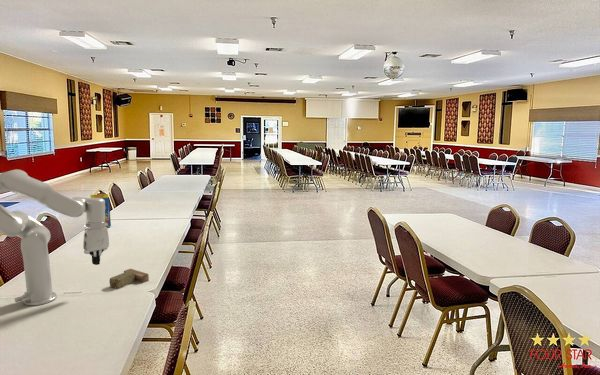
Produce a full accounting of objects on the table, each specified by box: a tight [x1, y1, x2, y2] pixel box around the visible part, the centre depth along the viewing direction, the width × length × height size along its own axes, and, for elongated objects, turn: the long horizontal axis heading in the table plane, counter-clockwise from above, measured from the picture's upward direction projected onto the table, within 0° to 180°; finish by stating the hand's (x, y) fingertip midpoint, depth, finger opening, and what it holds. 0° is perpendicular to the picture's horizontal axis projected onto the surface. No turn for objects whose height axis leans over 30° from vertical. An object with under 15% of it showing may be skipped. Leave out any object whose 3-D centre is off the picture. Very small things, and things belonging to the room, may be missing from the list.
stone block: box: [109, 272, 136, 289], centre depth 204 cm, size 6×12×5 cm, turn 154°
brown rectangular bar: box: [123, 268, 150, 284], centre depth 211 cm, size 4×14×4 cm, turn 57°
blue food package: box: [89, 193, 112, 229], centre depth 312 cm, size 6×12×25 cm, turn 104°
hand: (96, 264), depth 193 cm, fingers closed
